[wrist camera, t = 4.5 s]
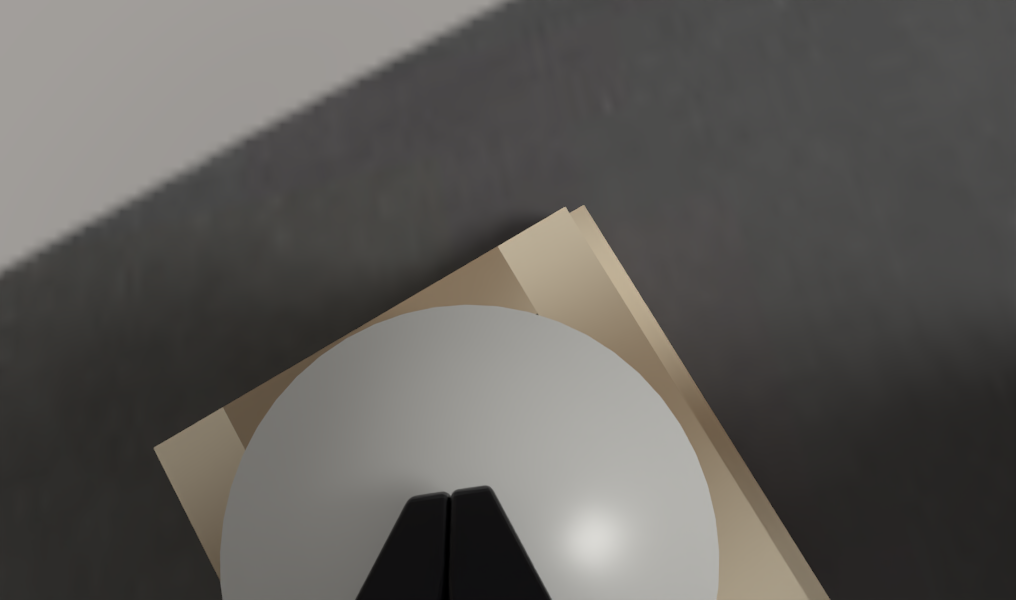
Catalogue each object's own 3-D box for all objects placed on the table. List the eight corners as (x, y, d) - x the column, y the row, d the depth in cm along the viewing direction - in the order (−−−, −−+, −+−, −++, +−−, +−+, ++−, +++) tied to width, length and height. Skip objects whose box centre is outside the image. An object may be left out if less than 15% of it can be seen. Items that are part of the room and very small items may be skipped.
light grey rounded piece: (717, 570, 15) (820, 650, 9) (447, 732, 15) (369, 925, 9) (556, 306, 16) (552, 217, 10) (300, 456, 16) (137, 460, 10)
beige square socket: (814, 591, 17) (954, 668, 11) (427, 826, 16) (350, 1039, 10) (582, 218, 18) (592, 103, 12) (221, 430, 18) (49, 419, 12)
